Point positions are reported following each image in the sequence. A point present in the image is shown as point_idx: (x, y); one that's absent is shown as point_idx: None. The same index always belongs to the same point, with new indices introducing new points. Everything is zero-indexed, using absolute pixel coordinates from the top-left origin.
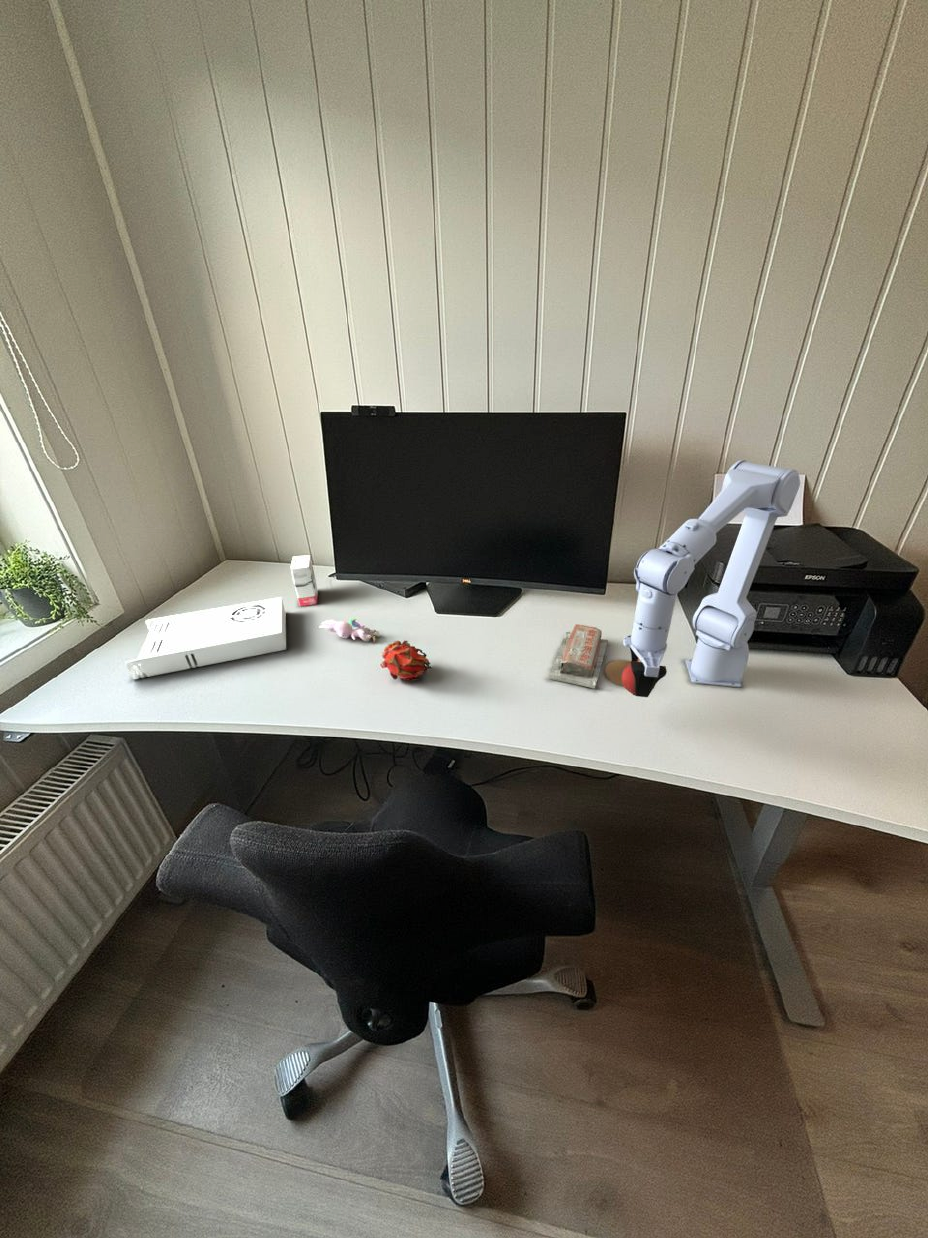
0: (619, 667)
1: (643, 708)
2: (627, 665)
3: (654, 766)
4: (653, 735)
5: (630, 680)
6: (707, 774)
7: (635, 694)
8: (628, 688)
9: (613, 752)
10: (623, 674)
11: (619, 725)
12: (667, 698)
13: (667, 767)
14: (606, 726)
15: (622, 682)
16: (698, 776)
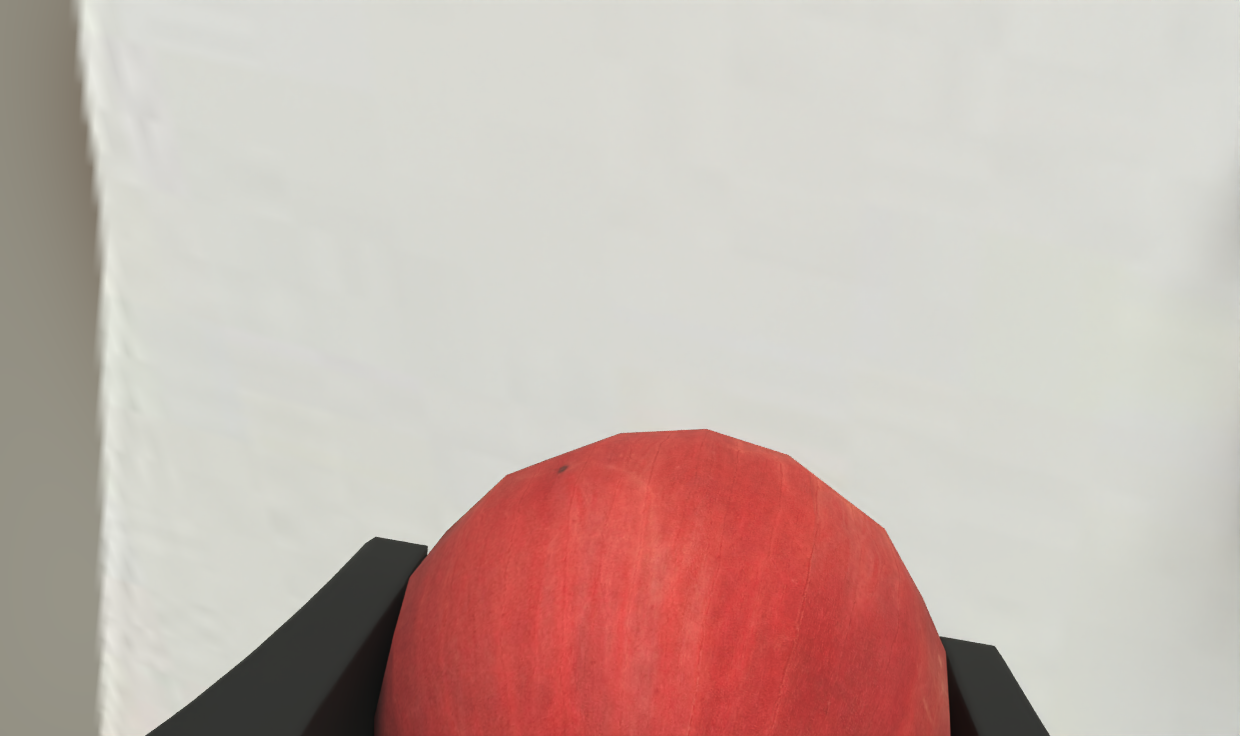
0: None
1: (901, 452)
2: (879, 708)
3: (142, 338)
4: (519, 432)
5: (445, 620)
6: (163, 652)
7: (364, 547)
8: (492, 493)
9: (228, 9)
10: (662, 551)
11: (639, 159)
12: (1029, 680)
13: (159, 429)
14: (616, 10)
15: (648, 445)
16: (127, 596)
